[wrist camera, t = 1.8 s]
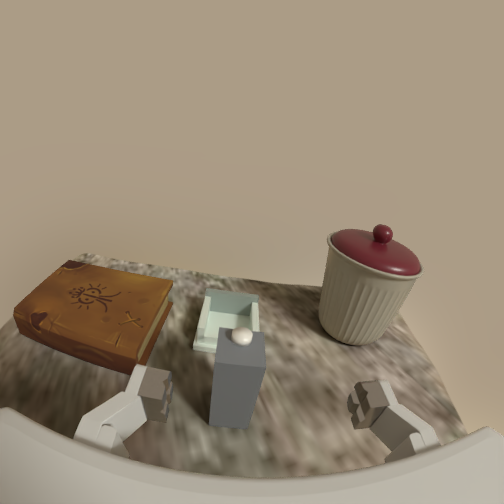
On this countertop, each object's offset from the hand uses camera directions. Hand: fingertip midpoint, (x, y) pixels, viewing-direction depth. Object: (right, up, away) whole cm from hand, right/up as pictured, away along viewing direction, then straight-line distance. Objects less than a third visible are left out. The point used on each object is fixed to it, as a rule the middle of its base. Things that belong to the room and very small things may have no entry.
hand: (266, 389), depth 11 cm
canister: (+18, -9, +39) cm, 44 cm away
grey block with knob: (-3, -14, +19) cm, 24 cm away
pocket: (-5, -7, +34) cm, 35 cm away
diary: (-27, -6, +29) cm, 40 cm away
